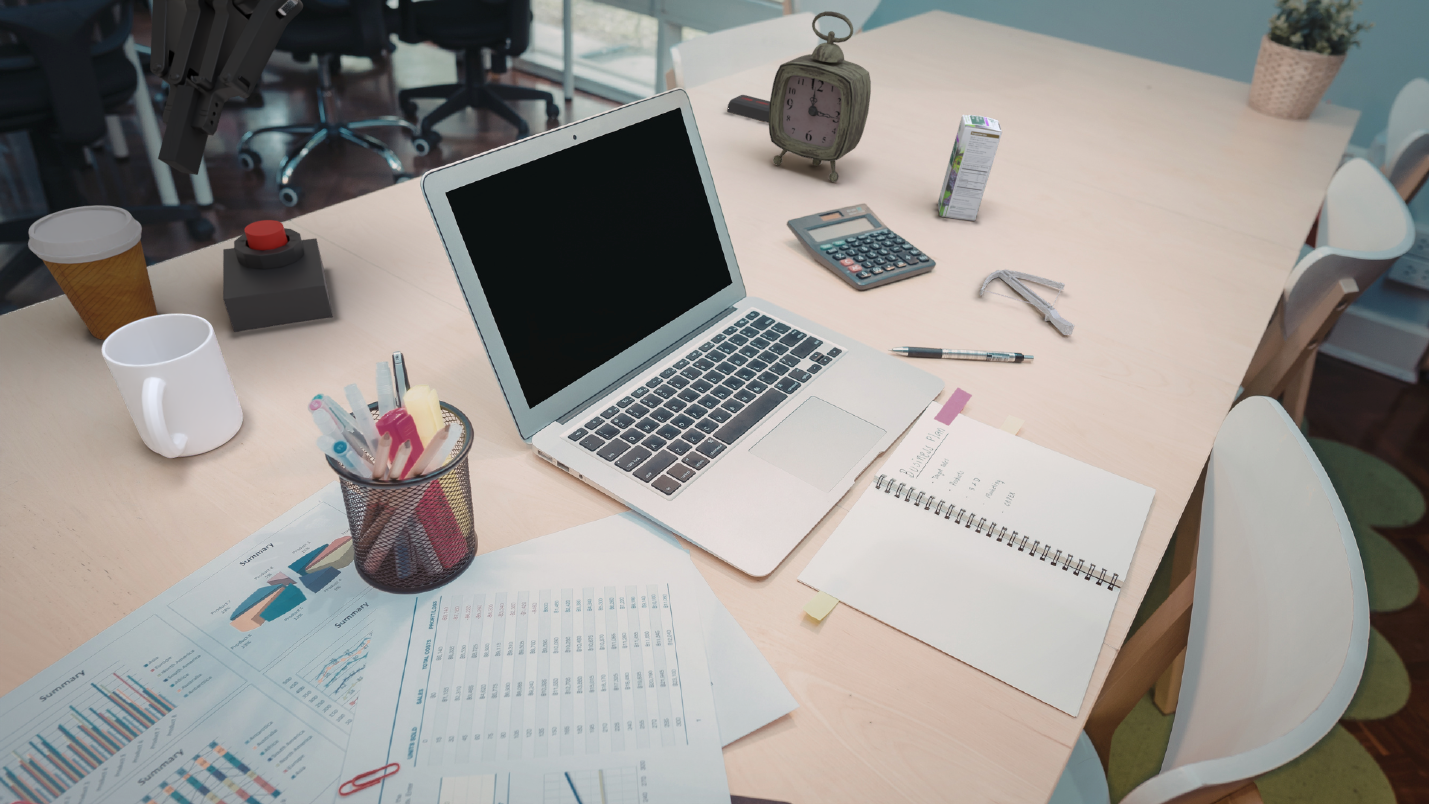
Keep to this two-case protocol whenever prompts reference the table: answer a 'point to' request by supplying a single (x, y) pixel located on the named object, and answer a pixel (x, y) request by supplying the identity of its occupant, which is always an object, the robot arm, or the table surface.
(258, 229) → the button
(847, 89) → the tabletop clock
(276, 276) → the red mushroom button box
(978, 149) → the syrup box
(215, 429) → the mug
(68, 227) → the disposable coffee cup
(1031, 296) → the crossbow
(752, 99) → the usb drive
